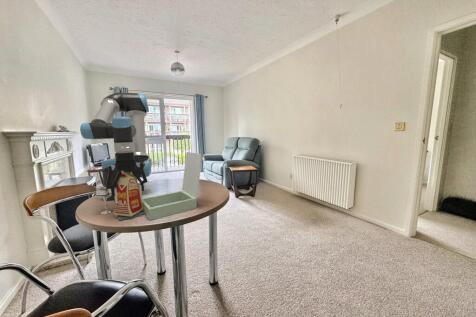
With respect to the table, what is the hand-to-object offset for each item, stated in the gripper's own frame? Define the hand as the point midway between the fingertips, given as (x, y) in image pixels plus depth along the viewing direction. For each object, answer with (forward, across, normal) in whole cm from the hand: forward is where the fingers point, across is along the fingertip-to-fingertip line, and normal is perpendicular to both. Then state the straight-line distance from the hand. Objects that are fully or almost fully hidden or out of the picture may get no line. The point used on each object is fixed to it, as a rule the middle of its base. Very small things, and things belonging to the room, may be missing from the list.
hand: (129, 200), depth 92 cm
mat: (+7, 0, 0) cm, 7 cm away
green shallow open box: (+7, +16, -4) cm, 18 cm away
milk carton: (+6, 0, 0) cm, 6 cm away
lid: (-9, +29, -4) cm, 31 cm away
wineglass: (+7, -8, +11) cm, 16 cm away
